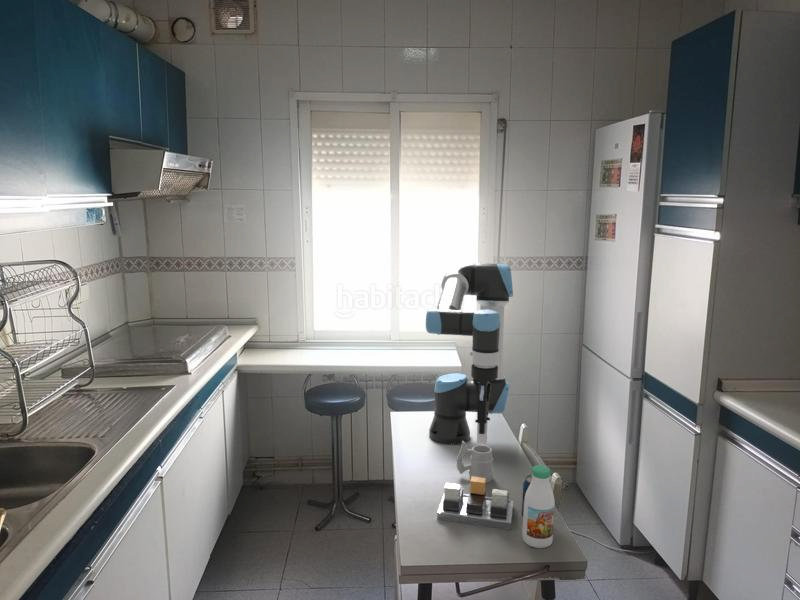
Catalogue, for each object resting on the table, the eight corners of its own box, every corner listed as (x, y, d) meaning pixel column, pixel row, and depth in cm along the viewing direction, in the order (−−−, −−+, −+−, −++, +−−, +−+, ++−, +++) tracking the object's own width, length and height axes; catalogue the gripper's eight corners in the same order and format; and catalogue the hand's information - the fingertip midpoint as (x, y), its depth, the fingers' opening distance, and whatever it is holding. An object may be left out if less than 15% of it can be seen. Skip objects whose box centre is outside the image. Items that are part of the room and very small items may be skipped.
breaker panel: (444, 497, 171) (445, 470, 170) (513, 507, 167) (514, 479, 165) (437, 519, 160) (437, 490, 158) (510, 530, 155) (512, 500, 154)
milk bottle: (516, 540, 151) (519, 468, 147) (532, 528, 156) (536, 459, 153) (542, 553, 145) (546, 478, 142) (558, 540, 151) (562, 468, 147)
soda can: (519, 512, 164) (521, 473, 162) (543, 513, 164) (546, 473, 162) (524, 526, 157) (526, 485, 155) (549, 526, 157) (552, 485, 155)
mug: (493, 484, 180) (495, 448, 178) (455, 482, 181) (456, 446, 179) (492, 473, 187) (494, 438, 185) (455, 471, 188) (456, 436, 186)
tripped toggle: (471, 488, 167) (471, 476, 166) (485, 489, 166) (485, 478, 165) (469, 492, 164) (470, 480, 163) (484, 494, 163) (484, 482, 162)
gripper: (474, 357, 172) (471, 432, 176) (468, 369, 160) (465, 450, 164) (499, 359, 171) (496, 435, 175) (496, 372, 158) (492, 453, 162)
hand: (481, 442), depth 169 cm, fingers closed
